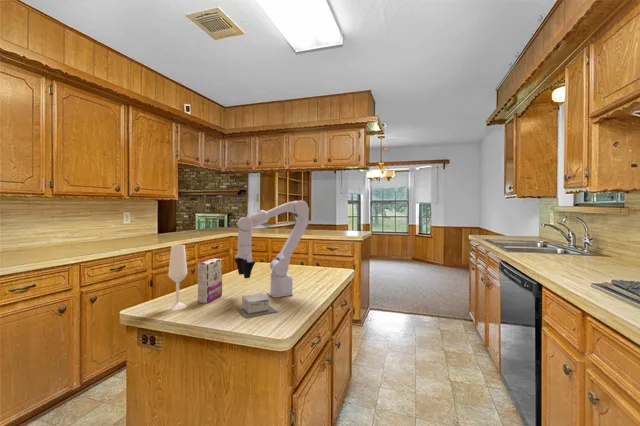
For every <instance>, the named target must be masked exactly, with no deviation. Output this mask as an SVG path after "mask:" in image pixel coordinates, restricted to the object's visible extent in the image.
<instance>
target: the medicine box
mask: <svg viewBox="0 0 640 426" xmlns="http://www.w3.org/2000/svg"><path fill="white" fill-rule="evenodd" d="M269 306H270V298H268V297H267V296H266V295H264V294H262V293H256V294H255V293H254V294H250V295H243V296H241V308H244V309H245V310H246V311H247V312H248V313H249V314H250V313H256V312H261V311H267V310H269Z"/></svg>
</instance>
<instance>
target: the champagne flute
mask: <svg viewBox="0 0 640 426" xmlns="http://www.w3.org/2000/svg"><path fill="white" fill-rule="evenodd" d="M167 275H168V278H170V280H172V282H174V283H175V303H172V304H171V305H169V306H168V307H167V309H168V310H170V311H179V310H182V309H183V310H184V309H185V308H187V307H188V305H187V304H185V303H182V302H180V282H182V281H183V280H185V278H187V275H188V263H187V253H186V245H185V244H173V245H171V246H170V255H169V266H168V273H167Z"/></svg>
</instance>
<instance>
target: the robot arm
mask: <svg viewBox="0 0 640 426" xmlns="http://www.w3.org/2000/svg"><path fill="white" fill-rule="evenodd" d="M284 213H292V215H293V216H294V218H295V225H294V227H293V228H292V230H291V232H290V234H289V235H288V237H287V239H286V241H285V243H284V245H283V246H282V248H281V250H280V251H279V253H278V254H276V257H274V259H273V260H271V262H270V265H269V267H270V269H271V273H270V291H268V292H267V295H269V296H270V297H272V298H275V299H276V298H281V297H287V296H292V295H293V296H294V293H293V277H292V274H290V273H288V271H289V265H290V263H291V257H292V255H293V253H294V251H295V250H296V247H297V246H298V244H299V242H300V241H301V238H302V236H303V235H304V233H305V232H306V229H307V227H308V226H309V220H310V219H309V217H310V208H309V205H308V203H307V202H306V201H305V200H301V199H300V200H293V201H288V202H285V203H283V204H280V205H278V206H276V207H273V208H271V209H268V210H264V209H257V210H256V212H253V213H251V214H249V213H248V214H246V216H242V217H240V218H239V219H238V220H237V223H236V225H237V228H238V231H237V232H238V234H237V253H236V254H235V255H234V259H233V260H234V262H235V264H236V267H237V272H238V275H240V276H242V275H243V277H244V279H250V278H251V275H252V271H253V268H254V266H255V264H256V262H255V261H253V256H252V240H253V239H252V237H253V236H252V229H253V228H255V227H258V226H261V225H262V224H266V223H268V221H269V219H270V218H273V217H276V216H278V215H281V214H284Z"/></svg>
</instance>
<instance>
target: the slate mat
mask: <svg viewBox="0 0 640 426" xmlns="http://www.w3.org/2000/svg"><path fill="white" fill-rule="evenodd" d="M237 312H239V313H240V314H241V315H242V316H243V317H244V318H245V319H249V318H255V317H260V316H264V315H271V314H275V313H276V314H277V313H278V311H277V310H276V309H275V308H273V307H272V306H271V305H269V310H267V311H261V312H256V313H250V314H249V313H248V312H247V311H246V310H245V309H244V308H243V307H240V308H237Z"/></svg>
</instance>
